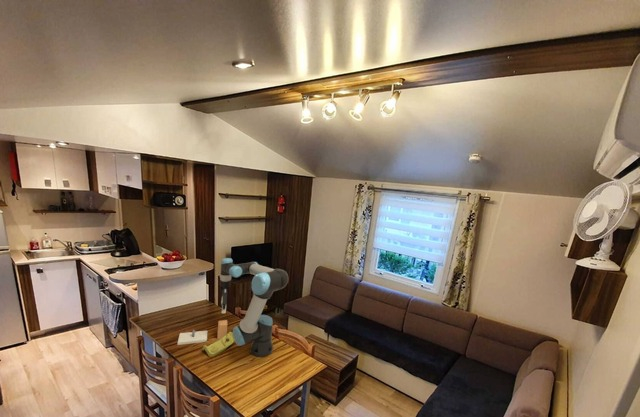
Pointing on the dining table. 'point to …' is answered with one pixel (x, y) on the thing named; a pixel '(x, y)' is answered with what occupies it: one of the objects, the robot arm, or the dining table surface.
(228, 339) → the plastic component
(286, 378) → the dining table surface
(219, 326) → the jaw
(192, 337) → the white board with peg
